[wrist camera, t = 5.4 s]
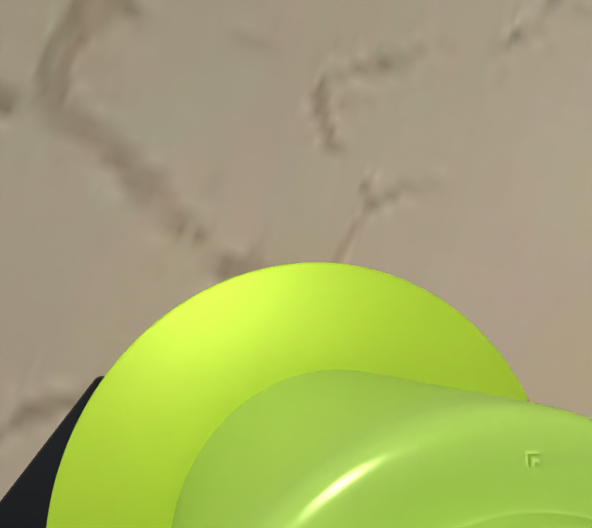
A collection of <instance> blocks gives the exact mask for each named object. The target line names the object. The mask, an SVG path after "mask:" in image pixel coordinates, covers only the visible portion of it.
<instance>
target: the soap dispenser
mask: <svg viewBox="0 0 592 528" xmlns="http://www.w3.org/2000/svg"><path fill="white" fill-rule="evenodd" d="M46 528H592V419H591V418H588V417H585V416H583V415H580V414H577V413H573V412H570V411H567V410H563V409H559V408H555V407H551V406H546V405H542V404H538V403H533V402H529V400H528V398H527V396H526V394H525V392H524V390H523V388H522V386H521V384H520V383H519V381H518V379H517V378H516V376H515V374H514V373H513V371H512V370H511V368H510V367H509V365H508V364H507V363H506V361H505V360H504V358H503V357H502V356H501V354H500V353H499V352H498V351H497V349H496V348H495V347H494V346H493V345H492V343H491V342H490V341H489V340H488V339H487V338H486V337H485V336H484V335H483V334H482V333H481V332H480V331H479V330H478V329H477V328H476V327H475V326H474V325H473V324H472V323H471V322H470V321H469V320H468V319H466V318H465V317H464V316H463V315H462V314H461V313H459V312H458V311H457V310H455V309H454V308H453V307H451V306H450V305H449V304H447V303H446V302H444V301H443V300H441V299H440V298H438V297H437V296H435V295H433V294H431V293H430V292H428V291H426V290H424V289H422V288H420V287H419V286H417V285H415V284H412V283H410V282H408V281H406V280H403V279H401V278H398V277H396V276H393V275H390V274H387V273H384V272H380V271H377V270H373V269H369V268H365V267H360V266H354V265H348V264H340V263H323V262H309V263H293V264H285V265H278V266H273V267H268V268H263V269H259V270H255V271H252V272H248V273H245V274H242V275H239V276H236V277H233V278H230V279H228V280H225V281H223V282H221V283H218V284H216V285H214V286H212V287H210V288H208V289H206V290H204V291H202V292H200V293H198V294H196V295H194V296H193V297H191V298H189V299H188V300H186V301H184V302H183V303H181V304H180V305H178V306H177V307H175V308H174V309H172V310H171V311H169V312H168V313H167V314H165V315H164V316H163V317H162V318H160V319H159V320H158V321H156V322H155V323H154V324H153V325H152V326H151V327H149V328H148V329H147V330H146V331H145V332H144V333H143V334H142V335H141V336H140V337H138V338H137V339H136V340H135V341H134V342H133V344H132V345H131V346H130V347H129V348H128V349H127V350H126V351H125V352H124V353H123V354H122V355H121V357H120V358H119V359H118V360H117V361H116V362H115V364H114V365H113V366H112V367H111V369H110V370H109V371H108V373H107V374H106V375H105V377H104V378H103V379H102V381H101V382H100V384H99V385H98V387H97V388H96V390H95V391H94V393H93V394H92V396H91V398H90V399H89V401H88V403H87V404H86V406H85V408H84V410H83V412H82V414H81V415H80V417H79V419H78V421H77V423H76V425H75V428H74V430H73V432H72V434H71V436H70V439H69V441H68V443H67V446H66V449H65V451H64V454H63V457H62V459H61V463H60V466H59V469H58V472H57V475H56V479H55V483H54V487H53V491H52V496H51V500H50V505H49V511H48V517H47V525H46Z"/></svg>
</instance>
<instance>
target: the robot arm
mask: <svg viewBox="0 0 592 528" xmlns="http://www.w3.org/2000/svg"><path fill="white" fill-rule="evenodd" d="M104 377H105V376H100V377H97V378H96V379H95V380H94V381H93V382H92V384H91V385H90V386H89V388H88V389H87V390H86V391H85V393H84V394H83V395H82V397H81V398H80V399H79V401H78V402H77V403H76V404H75V406H74V407H73V408H72V410H71V411H70V412H69V413H68V415H67V416H66V417H65V419H64V420H63V421H62V422H61V424H60V425H59V426H58V428H57V429H56V430H55V432H54V433H53V434H52V435H51V437H50V438H49V439H48V441H47V442H46V443H45V444H44V446H43V447H42V448H41V450H40V451H39V452H38V454H37V455H36V456H35V457H34V459H33V460H32V461H31V463H30V464H29V465H28V466H27V468H26V469H25V470H24V472H23V473H22V474H21V475H20V477H19V478H18V479H17V481H16V482H15V483H14V485H13V486H12V487H11V488H10V490H9V491H8V492H7V494H6V495H5V496H4V497H3V499H2V500H1V501H0V528H46V525H47V517H48V511H49V505H50V500H51V496H52V491H53V487H54V483H55V479H56V475H57V472H58V469H59V466H60V463H61V459H62V457H63V454H64V451H65V449H66V446H67V443H68V441H69V439H70V436H71V434H72V432H73V430H74V428H75V425H76V423H77V421H78V419H79V417H80V415H81V414H82V412H83V410H84V408H85V406H86V404H87V403H88V401H89V399H90V398H91V396H92V394H93V393H94V391H95V390H96V388H97V387H98V385H99V384H100V382H101V381H102V379H103V378H104Z"/></svg>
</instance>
